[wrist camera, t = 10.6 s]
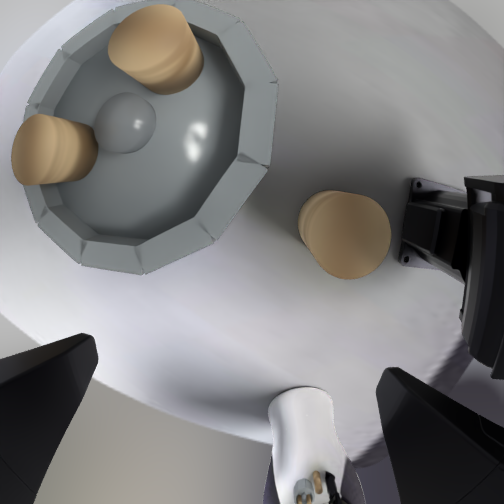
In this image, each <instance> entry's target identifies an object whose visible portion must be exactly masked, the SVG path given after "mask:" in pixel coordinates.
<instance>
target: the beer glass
mask: <svg viewBox="0 0 504 504" xmlns="http://www.w3.org/2000/svg"><path fill="white" fill-rule="evenodd" d="M268 417H269V421H270V425H271V428H272V433H273V449H272V455H271V459H270V464H269V468H268V473H267V477H266V482H265V489H264V495H263V504H366V502H365V498H364V493H363V490H362V487H361V483H360V480H359V478H358V476H357V473H356V471H355V469H354V467H353V465H352V463H351V461H350V459H349V457H348V455H347V453H346V451H345V449H344V448H343V446H342V444H341V442H340V440H339V438H338V436H337V433H336V430H335V426H334V409H333V401H332V398H331V397H330V395H329V394H328V393H326V392H325V391H323V390H321V389H318V388H313V387H300V388H294V389H291V390H288V391H285V392H283V393H281V394H280V395H278V396H277V397H276V398H274V399H273V401H272V402H271V403H270V405H269V408H268Z"/></svg>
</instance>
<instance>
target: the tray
mask: <svg viewBox="0 0 504 504" xmlns="http://www.w3.org/2000/svg"><path fill="white" fill-rule="evenodd" d="M157 4H165V5H170V6H173V7H175V8H177V9H179V10H180V11H181V12H182V14H183V15H184V17H185V19H186V21H187V23H188V25H189V27H190V29H191V31H192V33H193V35H194V37H195V39H196V41H197V43H198V45H199V47H200V49H201V51H202V53H203V56H204V67H203V70H202V72H201V74H200V76H199V77H198V79H197V80H196V81H195V82H194V83H193V84H192V85H191V86H189V87H188V88H187V89H185V90H183V91H181V92H178V93H175V94H170V95H161V94H157V93H154V92H152V91H151V90H149V89H148V88H146V87H145V86H144V85H142V84H141V83H140V82H138V81H137V80H135V79H134V78H133V77H131V76H130V75H128V74H127V73H126V72H124V71H123V70H121V69H120V68H118V67H117V66H115V65H114V64H113V63H112V61H111V60H110V58H109V55H108V44H109V40H110V38H111V36H112V34H113V32H114V30H115V29H116V28H117V26H118V25H119V24H120V23H121V22H122V21H123V20H124V19H125V18H126V17H128V16H129V15H130V14H132V13H133V12H135V11H137V10H139V9H141V8H144V7H147V6H151V5H157ZM61 47H62V50H60V49H59V50H58V51H57V53H56V54H55V56H54V57H53V59H52V60H51V62H50V63H49V65H48V67H47V68H46V70H45V72H44V73H43V75H42V77H41V78H40V80H39V82H38V84H37V85H36V87H35V89H34V91H33V93H32V95H31V97H30V98H29V100H28V102H27V103H29V104H30V105H28V106H26V110H25V115H24V121H23V123H24V122H25V121H26V120H27V119H28V118H29V117H31V116H32V115H35V114H44V115H49V116H53V117H58V118H63V119H67V120H71V121H75V122H80V123H84V124H87V125H89V126H90V127H92V129H93V130H94V133H95V138H96V140H97V142H98V155H97V159H96V162H95V164H94V166H93V168H92V170H91V171H90V172H89V174H88V175H87V176H85V177H84V178H83V179H81V180H79V181H73V182H60V183H49V184H39V185H30V186H26V185H23V186H24V189H25V192H26V196H27V199H28V202H29V205H30V208H31V211H32V214H33V216H34V219H35V222H36V223H38V222H39V223H38V227H39V228H40V229H41V230H42V231H43V232H44V233H45V234H46V235H47V236H48V237H50V238H51V239H52V240H53V241H54V242H55V243H56V244H57V245H58V246H59V247H60V248H61V249H62V250H63V251H64V252H66V253H67V254H68V255H69V256H70V257H71V258H72V259H73V260H74V261H76V262H77V263H78V264H80V263H81V264H82V266H87V267H93V268H99V269H105V270H111V271H117V272H124V273H130V274H137V275H143V274H144V273H145V274H148V273H150V272H153V271H155V270H157V269H159V268H161V267H163V266H165V265H168V264H170V263H172V262H174V261H176V260H178V259H181V258H183V257H185V256H187V255H189V254H192V253H194V252H196V251H198V250H200V249H203V248H205V247H207V246H209V245H211V244H214V242H215V241H216V240H218V239H219V237H220V236H221V235H222V233H223V232H224V230H225V229H226V228H227V226H228V225H229V223H230V222H231V221H232V219H233V218H234V216H235V215H236V214H237V212H238V211H239V209H240V208H241V207H242V205H243V204H244V202H245V201H246V200H247V198H248V197H249V196H250V194H251V193H252V191H253V190H254V189H255V187H256V186H257V185H258V183H259V182H260V181H261V179H262V178H263V177H264V175H265V174H266V172H267V171H268V169H266V168H269V166H270V162H271V153H272V143H273V134H274V124H275V114H276V104H277V94H278V84H277V80H278V79H277V78H276V76H275V74H274V72H273V70H272V69H271V67H270V65H269V63H268V62H267V60H266V58H265V56H264V55H263V53H262V51H261V50H260V48H259V46H258V45H257V43H256V41H255V40H254V38H253V36H252V35H251V33H250V32H249V30H248V28H247V27H246V25H245V24H244V22H243V21H242V22H240V19H239V18H237V17H235V16H233V15H231V14H228V13H226V12H223V11H221V10H219V9H216V8H214V7H211V6H208V5H206V4H203V3H200V2H198V1H195V0H147V1H141V2H136V3H132V4H127V5H123V6H119V7H116V8H115V11H114V10H113V9H111V10H110V11H108V12H107V13H105V14H104V15H102V16H101V17H99V18H98V19H96V20H95V21H93V22H92V23H91V24H89V25H88V26H86V27H85V28H84V29H82V30H81V31H80V32H78V33H77V34H76V35H75V36H73V37H72V38H71V39H70V40H68V41H67V42H66V43H65V44H64V45H62V46H61ZM265 167H266V168H265Z"/></svg>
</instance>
